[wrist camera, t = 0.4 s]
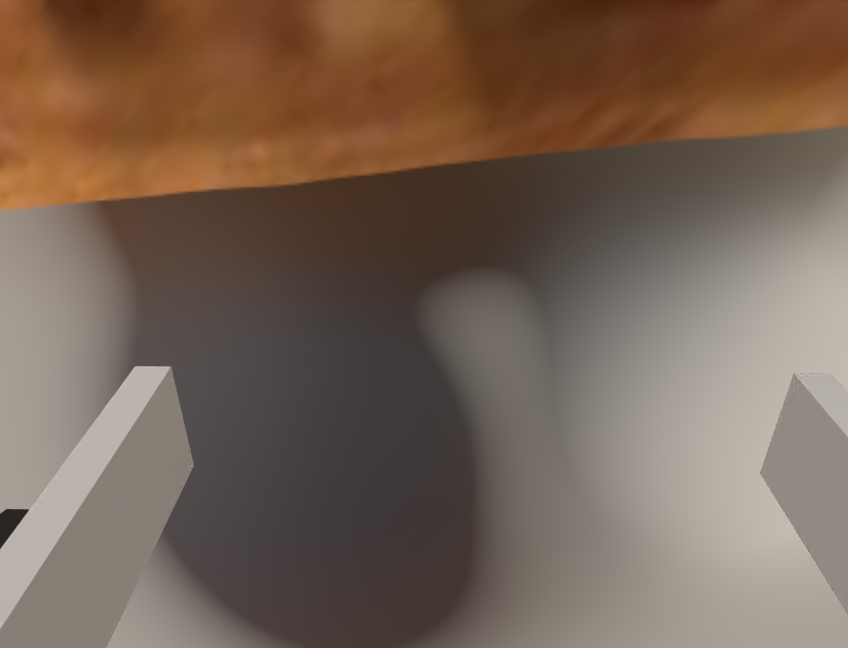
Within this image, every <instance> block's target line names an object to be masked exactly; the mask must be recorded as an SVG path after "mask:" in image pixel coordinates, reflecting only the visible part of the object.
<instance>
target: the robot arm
mask: <svg viewBox="0 0 848 648" xmlns="http://www.w3.org/2000/svg"><path fill="white" fill-rule="evenodd" d="M193 466H194V464H193V460H192V456H191V452H190V447H189V442H188V438H187V434H186V430H185V425H184V421H183V417H182V413H181V408H180V404H179V399H178V395H177V391H176V386H175V382H174V378H173V373H172V369H171V367H143V366H142V367H140V366H136V367H134V369H133V370H132V372H131V373H130V374H129V376H128V377H127V378H126V380H125V381H124V382H123V384H122V385H121V386H120V388H119V389H118V391H117V392H116V393H115V395H114V396H113V397H112V399H111V400H110V401H109V403H108V404H107V406H106V407H105V408H104V409H103V411H102V412H101V414H100V415H99V416H98V418H97V419H96V420H95V422H94V423H93V425H92V426H91V427H90V428H89V430H88V431H87V433H86V434H85V435H84V437H83V438H82V439H81V441H80V442H79V444H78V445H77V446H76V447H75V449H74V450H73V451H72V453H71V454H70V456H69V457H68V458H67V460H66V461H65V462H64V464H63V465H62V467H61V468H60V469H59V470H58V472H57V473H56V475H55V476H54V477H53V479H52V480H51V481H50V483H49V484H48V485H47V487H46V488H45V490H44V491H43V492H42V494H41V495H40V496H39V498H38V499H37V500H36V502H35V503H34V505H33V506H32V507H31V508H30V510H26V509H25V510H24V509H6V510H5V511H3V512H2V513H1V514H0V648H106V647H107V645H108V643H109V641H110V639H111V637H112V634H113V633H114V630H115V628H116V626H117V624H118V622H119V620H120V618H121V616H122V614H123V611H124V609H125V608H126V605H127V603H128V601H129V599H130V597H131V595H132V593H133V591H134V589H135V587H136V585H137V582H138V581H139V578H140V576H141V574H142V572H143V570H144V568H145V566H146V564H147V562H148V560H149V558H150V555H151V553H152V551H153V549H154V547H155V545H156V543H157V541H158V539H159V536H160V535H161V533H162V531H163V528H164V526H165V524H166V522H167V520H168V518H169V516H170V514H171V512H172V510H173V508H174V505H175V504H176V501H177V499H178V497H179V495H180V493H181V491H182V489H183V487H184V485H185V483H186V481H187V478H188V476H189V474H190V472H191V470H192V468H193ZM760 474H761V475H762V477H763V478H764V480H765V482H766V483H767V485H768V487H769V488H770V490H771V491H772V493H773V495H774V496H775V498H776V499H777V501H778V503H779V504H780V506H781V508H782V509H783V511H784V512H785V514H786V515H787V517H788V519H789V520H790V522H791V524H792V525H793V527H794V529H795V530H796V532H797V533H798V535H799V537H800V538H801V540H802V541H803V543H804V544H805V546H806V548H807V549H808V551H809V552H810V554H811V556H812V558H813V559H814V561H815V562H816V564H817V565H818V567H819V569H820V570H821V572H822V574H823V575H824V577H825V578H826V580H827V582H828V583H829V585H830V587H831V588H832V590H833V591H834V593H835V595H836V596H837V598H838V599H839V601H840V602H841V604H842V606H843V608H844V609H845V611H846V612H847V614H848V392H847V391H846V390H845V389H844V387H843V386H842V385H841V384H840V383H839V382H838V381H837V380H836V379H835V378H834V377H833V376H832V375H831V374H794V375H793V378H792V381H791V383H790V387H789V389H788V392H787V395H786V399H785V401H784V404H783V407H782V410H781V413H780V416H779V419H778V422H777V425H776V428H775V431H774V434H773V437H772V440H771V443H770V446H769V448H768V452H767V454H766V457H765V460H764V463H763V466H762V469H761V472H760Z"/></svg>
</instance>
